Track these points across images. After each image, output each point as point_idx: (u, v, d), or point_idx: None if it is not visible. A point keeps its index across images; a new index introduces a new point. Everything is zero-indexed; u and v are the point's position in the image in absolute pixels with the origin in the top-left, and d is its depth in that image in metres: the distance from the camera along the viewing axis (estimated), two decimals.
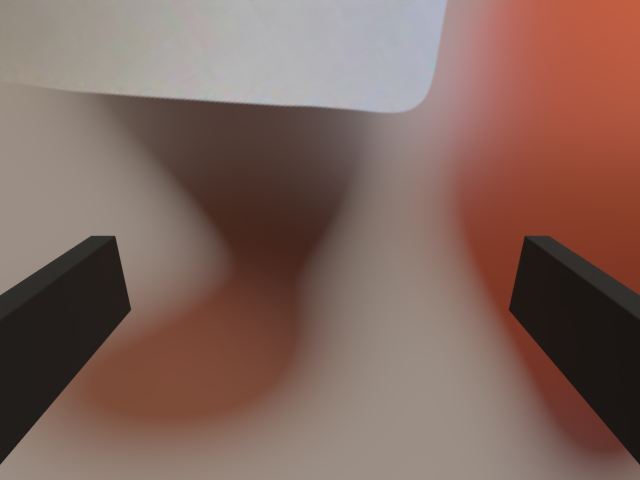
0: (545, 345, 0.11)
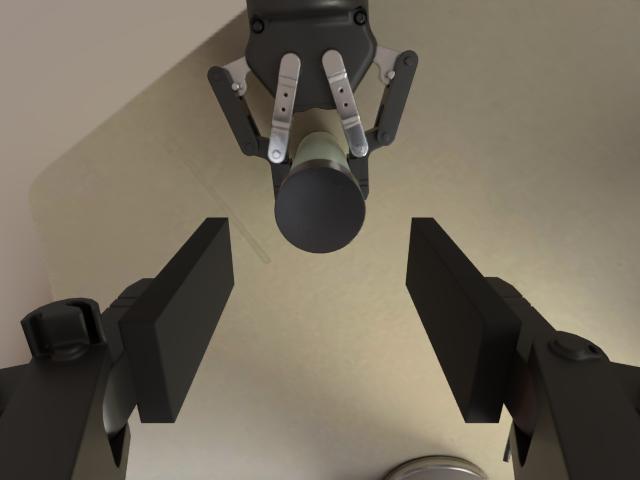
0: (420, 311, 0.13)
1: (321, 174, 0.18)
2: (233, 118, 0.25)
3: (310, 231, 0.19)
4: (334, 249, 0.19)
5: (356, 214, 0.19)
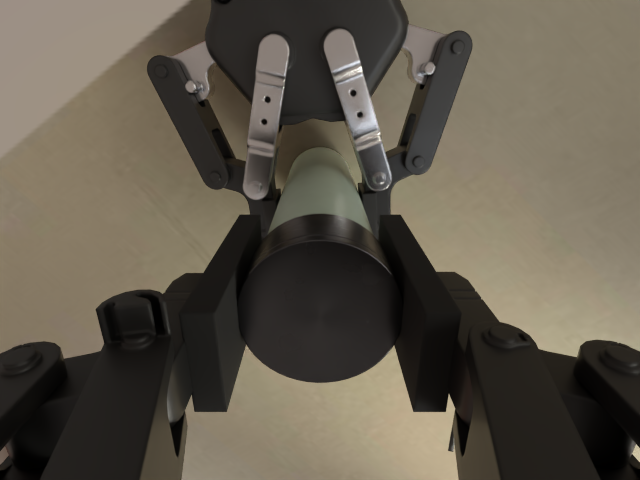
0: None
1: (324, 253, 0.09)
2: (189, 134, 0.17)
3: (303, 348, 0.10)
4: (346, 377, 0.11)
5: (387, 321, 0.10)
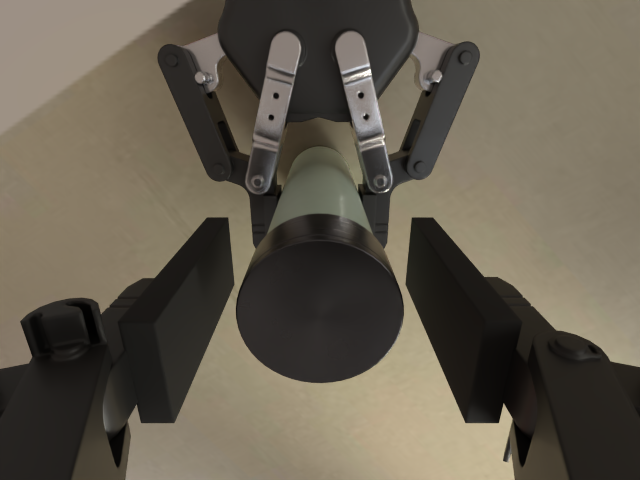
0: (419, 311, 0.13)
1: (252, 294, 0.10)
2: (195, 125, 0.17)
3: (349, 341, 0.10)
4: (399, 316, 0.10)
5: (347, 261, 0.09)
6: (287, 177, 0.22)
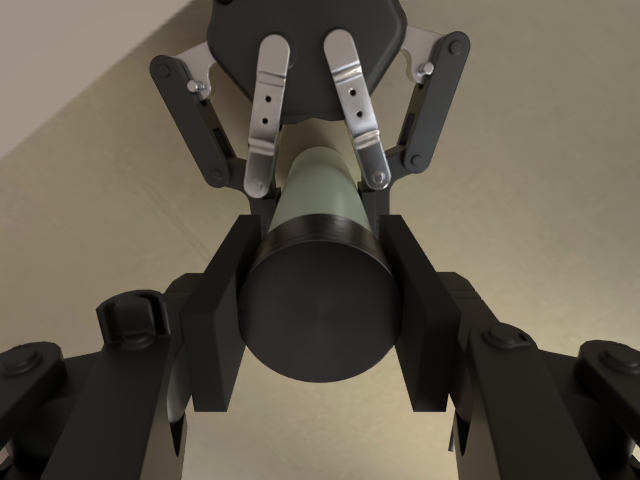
0: None
1: (251, 298, 0.10)
2: (191, 133, 0.17)
3: (351, 340, 0.10)
4: (400, 311, 0.10)
5: (343, 259, 0.09)
6: None
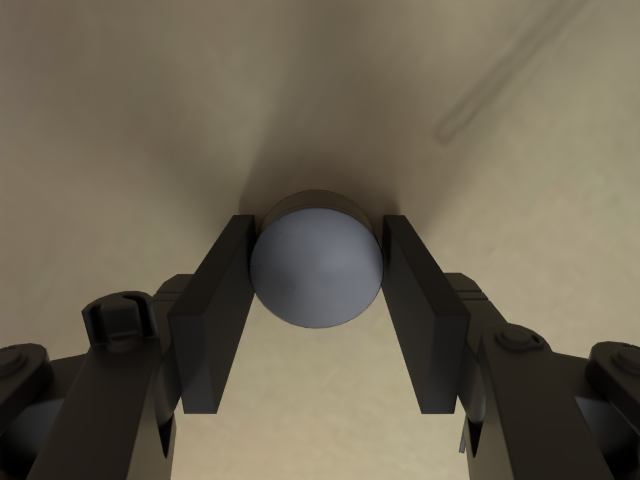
0: (389, 306, 0.13)
1: (261, 256, 0.12)
2: None
3: (342, 291, 0.13)
4: (381, 266, 0.12)
5: (335, 223, 0.12)
6: None
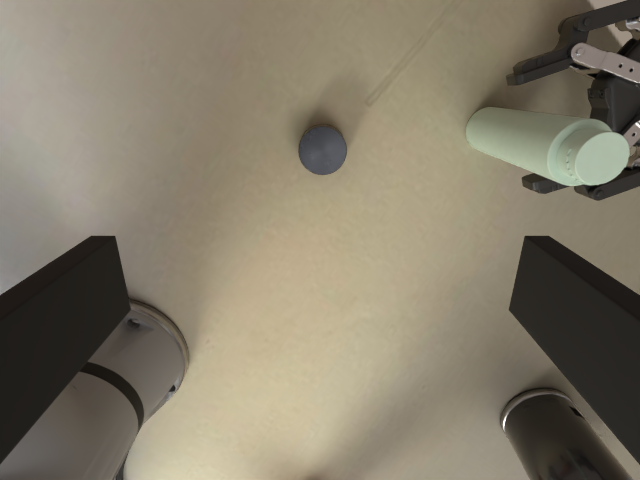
0: (545, 345, 0.11)
1: (303, 145, 0.35)
2: (617, 10, 0.26)
3: (331, 159, 0.36)
4: (345, 149, 0.35)
5: (329, 132, 0.35)
6: (513, 109, 0.32)
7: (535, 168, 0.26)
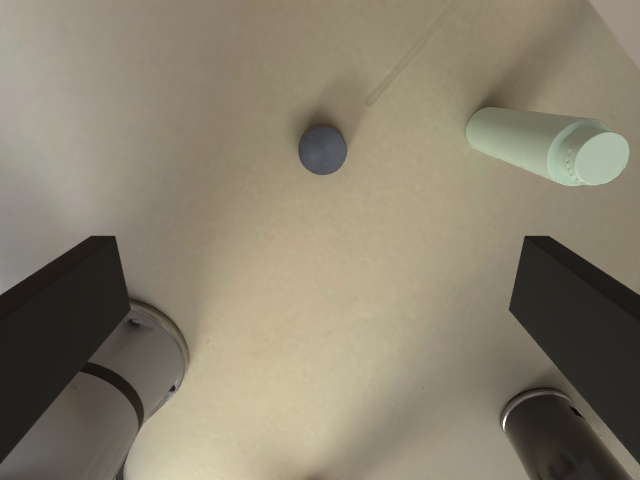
0: (545, 345, 0.11)
1: (303, 145, 0.35)
2: None
3: (331, 159, 0.36)
4: (345, 149, 0.35)
5: (329, 132, 0.35)
6: (513, 109, 0.32)
7: (535, 168, 0.26)
